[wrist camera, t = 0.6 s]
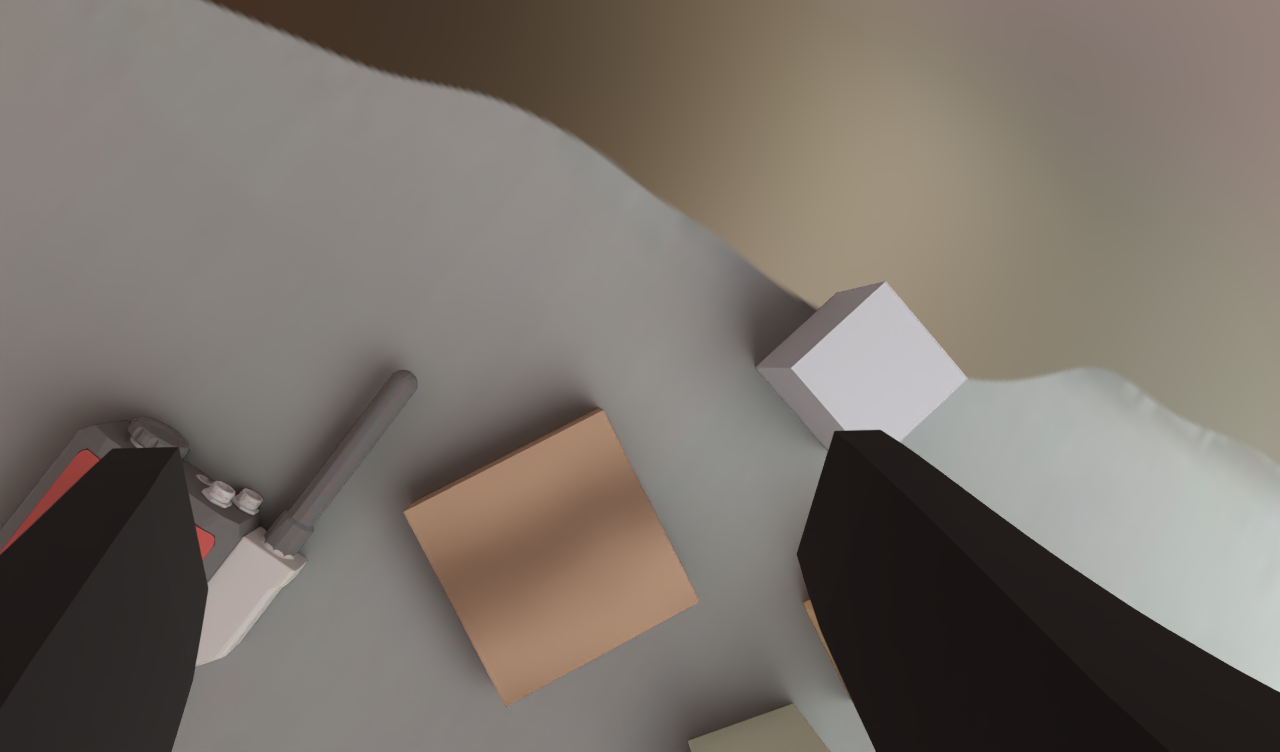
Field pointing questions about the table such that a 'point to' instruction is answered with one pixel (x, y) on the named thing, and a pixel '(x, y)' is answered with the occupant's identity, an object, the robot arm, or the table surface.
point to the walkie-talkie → (225, 513)
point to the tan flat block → (551, 555)
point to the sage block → (764, 735)
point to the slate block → (861, 366)
